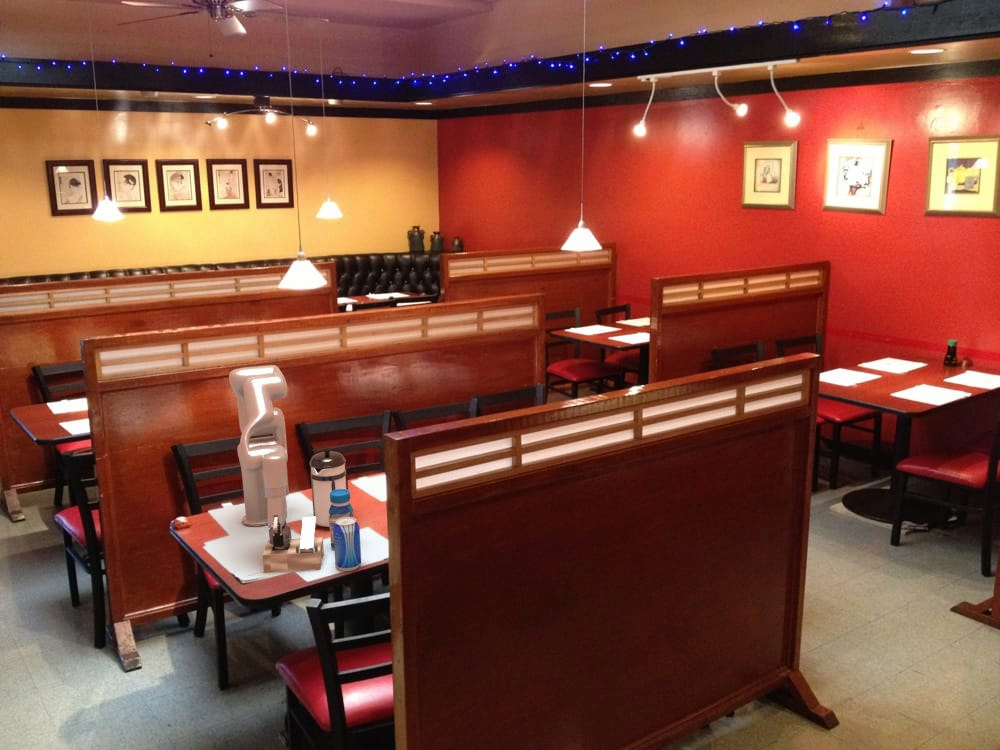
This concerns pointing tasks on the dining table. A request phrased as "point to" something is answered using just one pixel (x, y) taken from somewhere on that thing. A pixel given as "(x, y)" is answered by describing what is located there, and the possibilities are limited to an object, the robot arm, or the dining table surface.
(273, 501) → the robot arm
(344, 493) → the beverage bottle
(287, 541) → the pin
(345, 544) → the beer can
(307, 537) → the bar
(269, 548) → the board
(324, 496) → the coffee press
